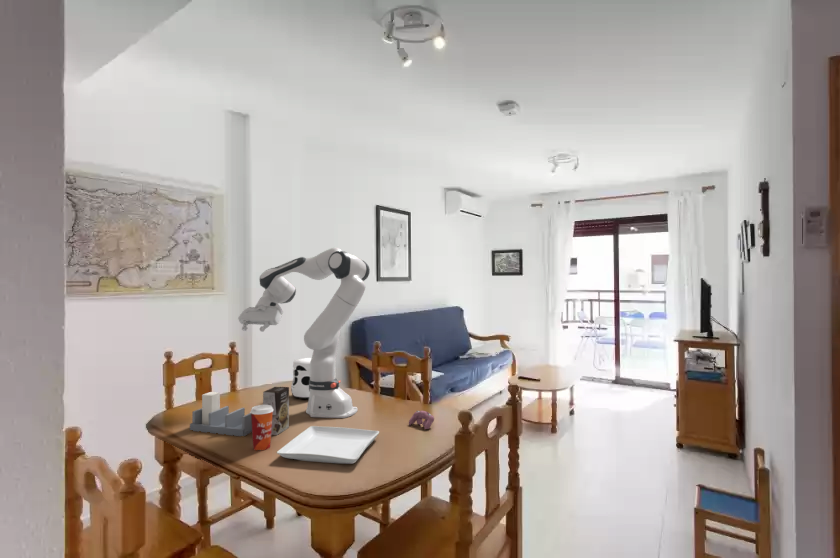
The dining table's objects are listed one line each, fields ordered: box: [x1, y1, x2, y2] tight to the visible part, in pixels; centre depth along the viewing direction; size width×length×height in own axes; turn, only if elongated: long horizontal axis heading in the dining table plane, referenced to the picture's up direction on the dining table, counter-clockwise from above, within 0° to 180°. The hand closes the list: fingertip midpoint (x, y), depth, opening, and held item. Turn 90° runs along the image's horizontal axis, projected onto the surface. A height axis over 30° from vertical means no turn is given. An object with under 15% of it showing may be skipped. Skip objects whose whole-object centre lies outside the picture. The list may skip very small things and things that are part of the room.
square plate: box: [276, 425, 380, 465], centre depth 152 cm, size 27×27×4 cm
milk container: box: [290, 357, 312, 400], centre depth 220 cm, size 17×17×18 cm
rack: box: [189, 405, 252, 437], centre depth 172 cm, size 24×12×7 cm, turn 75°
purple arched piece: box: [408, 410, 435, 430], centre depth 176 cm, size 10×5×7 cm, turn 49°
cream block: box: [201, 391, 221, 425], centre depth 174 cm, size 4×4×12 cm
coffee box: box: [262, 386, 290, 436], centre depth 170 cm, size 9×6×16 cm
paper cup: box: [249, 404, 274, 451], centre depth 153 cm, size 8×8×14 cm
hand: (252, 330), depth 203 cm, fingers open, 8 cm apart
